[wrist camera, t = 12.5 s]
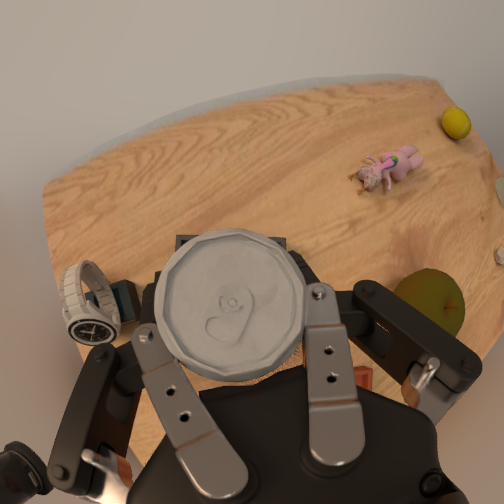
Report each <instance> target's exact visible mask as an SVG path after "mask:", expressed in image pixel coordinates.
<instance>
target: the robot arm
mask: <svg viewBox="0 0 504 504" xmlns="http://www.w3.org/2000/svg"><path fill="white" fill-rule="evenodd" d="M279 245H280V246H281V247H283V246H282V245H281V244H280V243H279ZM288 253H289V254H290V255H291V257H292V258H293V259H294V261H295V262H296V264H297V266H298V267H299V269H300V271H301V273H302V274H303V276H304V279H305V283H306V286H307V289H308V294H309V318H308V322H307V325H306V326H305V332H304V335H303V337H302V349H303V364H302V365H299V366H296V367H293V368H290V369H287V370H283V371H280V372H277V373H276V374H274V375H272V376H270V377H268V378H266V379H264V380H263V381H261V382H259V383H257V384H255V385H249V386H222V387H217V388H213V389H208V390H203V391H199V396H198V395H197V393H196V392H195V390H194V388H193V387H192V385H191V383H190V381H189V380H188V378H187V376H186V375H185V373H184V371H183V369H182V368H181V366H180V364H179V360H178V359H177V358H176V357H175V356H174V355H173V354H172V353H171V352H170V351H169V349H168V348H167V346H166V344H165V342H164V341H163V339H162V337H161V335H160V333H159V330H158V326H157V322H156V318H155V313H154V299H155V290H156V286H157V283H158V280H159V277H160V275H161V272H162V271H158V272H155V280H154V283H150V284H148V285H147V286H146V288H145V289H144V291H143V296H142V306H141V314H140V324H139V327H137V328H136V329H135V330H134V331H133V333H132V335H131V341H129V342H128V343H126V344H123V345H121V346H119V347H117V348H115V347H114V346H113V345H112V344H110V343H107V342H104V343H100V344H98V345H96V346H95V347H93V348H92V349H91V351H90V352H89V354H88V356H87V359H86V361H85V363H84V366H83V368H82V370H81V372H80V375H79V377H78V379H77V382H76V384H75V387H74V389H73V392H72V394H71V397H70V399H69V402H68V405H67V407H66V410H65V413H64V415H63V418H62V421H61V424H60V427H59V430H58V433H57V436H56V439H55V442H54V445H53V449H52V452H51V455H50V459H49V463H48V466H47V476H48V479H49V481H50V483H51V484H52V485H53V486H54V487H55V488H57V489H58V490H61V491H64V492H66V493H69V494H71V495H72V496H74V497H77V498H80V499H83V500H86V501H89V502H93V503H98V504H469V502H468V500H467V498H466V496H465V495H464V493H463V492H462V491H461V490H460V489H459V488H458V487H457V486H456V485H455V484H454V483H453V482H451V481H450V480H449V478H448V477H447V476H446V475H445V474H444V473H443V471H442V469H441V467H440V463H439V460H438V451H437V432H436V429H435V426H436V425H437V423H438V422H439V421H440V420H441V419H442V417H443V416H444V415H445V414H446V412H447V411H448V410H449V409H450V408H451V407H452V406H453V405H454V404H455V403H456V402H457V401H458V400H459V399H460V398H461V396H462V395H463V394H464V393H465V392H466V391H467V390H468V389H469V387H470V386H471V385H472V384H473V383H474V382H475V380H476V379H477V378H478V377H479V376H480V374H481V372H482V362H481V360H480V358H479V356H478V355H477V354H476V353H475V352H473V351H472V350H471V349H469V348H468V347H467V346H465V345H464V344H463V343H462V342H460V341H459V340H458V339H456V338H455V337H454V336H452V335H451V334H450V333H448V332H447V331H446V330H444V329H443V328H442V327H440V326H439V325H437V324H436V323H435V322H433V321H432V320H431V319H429V318H428V317H426V316H425V315H424V314H422V313H421V312H419V311H418V310H417V309H415V308H414V307H412V306H411V305H410V304H408V303H407V302H405V301H404V300H402V299H401V298H400V297H398V296H397V295H395V294H394V293H392V292H391V291H389V290H388V289H387V288H385V287H384V286H382V285H381V284H379V283H377V282H375V281H372V280H361V281H359V282H357V283H356V284H355V285H354V288H353V290H352V291H335V290H334V289H333V287H331V286H330V285H328V284H326V283H321V282H320V281H319V279H318V278H317V277H316V275H315V274H314V273H313V271H312V270H311V268H310V267H308V264H307V263H306V262H305V260H304V259H303V258H302V256H301V255H300V254H298V253H296V252H294V251H288ZM376 322H377V323H379V324H380V325H381V326H382V327H384V328H385V329H386V330H387V331H388V332H389V333H390V334H389V333H388V332H387V331H386V330H384V329H383V328H382V327H381V326H379V325H378V324H377V323H376ZM348 338H349V339H350V340H351V341H352V342H353V343H354V344H355V345H357V346H358V347H359V348H360V349H361V350H362V351H363V352H364V353H366V354H367V355H368V356H369V357H370V358H371V359H372V360H373V361H374V362H376V363H377V364H378V365H379V366H380V367H381V368H382V369H383V370H385V371H386V372H387V373H388V374H389V375H390V376H391V377H392V378H393V379H395V380H396V381H397V382H398V383H399V384H400V385H401V393H402V396H403V397H404V401H405V403H407V404H408V405H409V406H407V405H404V404H402V403H399V402H397V401H394V400H392V399H389V398H387V397H384V396H382V395H379V394H377V393H375V392H372V391H370V390H368V389H365V388H363V387H361V386H358V385H356V383H355V376H354V370H353V363H352V357H351V352H350V346H349V341H348ZM145 387H146V390H147V392H148V395H149V397H150V399H151V402H152V404H153V406H154V408H155V411H156V413H157V415H158V417H159V419H160V421H161V423H162V425H163V427H164V429H165V431H166V435H165V436H164V438H163V439H162V441H161V442H160V444H159V445H158V447H157V449H156V450H155V452H154V453H153V455H152V456H151V458H150V459H149V461H148V462H147V464H146V465H145V467H144V468H143V470H142V471H141V473H140V474H139V476H138V478H137V479H136V480H135V482H134V483H133V481H132V476H133V475H132V470H131V466H130V464H129V462H128V461H127V460H126V459H125V458H126V453H127V448H128V444H129V440H130V436H131V432H132V427H133V423H134V419H135V415H136V411H137V408H138V404H139V400H140V396H141V393H142V389H143V388H145ZM199 397H200V398H199ZM43 488H44V483H43V480H42V478H41V476H40V474H39V472H38V471H37V469H36V468H35V467H34V465H33V464H32V463H31V462H30V461H29V460H28V459H27V458H26V457H25V456H24V455H23V454H21V453H20V452H18V451H16V450H10V451H8V450H5V451H3V452H1V453H0V504H24V503H25V502H26V501H28V500H29V499H30V498H32V497H33V496H34V495H35V494H37V493H38V492H40V491H41V490H42V489H43Z"/></svg>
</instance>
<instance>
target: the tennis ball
mask: <svg viewBox="0 0 504 504" xmlns="http://www.w3.org/2000/svg"><path fill="white" fill-rule="evenodd" d="M441 121H442V126H443V128H444V130H445V131H446V133H447V134H448V135H449V136H451V137H452V138H455V139H462V138H465V137H466V136H467V135H468V134H469V132H470V130H471V122H470V119H469V117H468V115H467V114H466V113H465V112H464V111H463V110H462V109H460V108H458V107H450V108H448V109H446V110H445V111H444V113H443V115H442V119H441Z"/></svg>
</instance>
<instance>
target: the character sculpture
mask: <svg viewBox="0 0 504 504" xmlns="http://www.w3.org/2000/svg"><path fill="white" fill-rule="evenodd" d="M495 187H496V191H497V195H498V197H499V200H500V202H501V204H502V205H503V207H504V175H503V176H501V177H499V178H498V179H497V180H496V182H495Z"/></svg>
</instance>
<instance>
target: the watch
mask: <svg viewBox="0 0 504 504" xmlns="http://www.w3.org/2000/svg"><path fill="white" fill-rule="evenodd" d="M81 279H82V280H83V282H84V283H85V284H86V285H87V286H88V288H89V289H90V290H91V291H90V292H87V293H84V294H85V298H86V301H85V298H84V295H82V294H83V290H82V286H81ZM60 295H61V301H63V302H62V306H63V309H62V314H63V317H64V320H65V323H66V325H67V333H68V335H69V336H70V337H71V338H72V339H73V340H75V341H76V342H78V343H81V344H84V345H89V346H96V345H98V344H100V343H104V342H107V343H112V342H113V341H115V339H116V338H117V337H119V336H120V329H121V325H124V324H128V323H131V322H134V321H137V320H140V314H141V305H140V302H139V299H138V295H137V291H136V288H135V284H134V283H133V282H130V281H128V280H126V279H124V280H121V281H119V282H116V283H113V284H110V285H109V281H108V279H107V277H106V276H105V275H104V274H103V272H102V271H101V270H100V269H99V267H98V266H97V265H96V264H95V263H94V262H90V261H87V260H86V261H83V262H80V263H78V264H75V265H73V266H70V267H68V268H67V269H66V270H65V271H64V273H63V275H62V277H61V283H60Z"/></svg>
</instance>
